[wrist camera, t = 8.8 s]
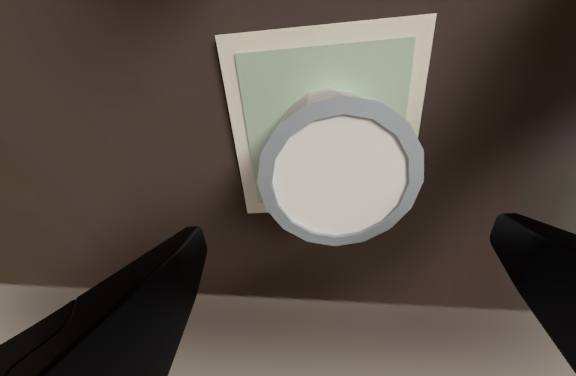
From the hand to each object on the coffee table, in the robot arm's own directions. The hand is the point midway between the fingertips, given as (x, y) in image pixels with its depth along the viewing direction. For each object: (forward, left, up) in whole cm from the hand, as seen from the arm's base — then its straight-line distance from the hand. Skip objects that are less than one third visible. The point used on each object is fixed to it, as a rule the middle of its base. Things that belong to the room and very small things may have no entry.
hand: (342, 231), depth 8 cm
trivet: (0, 0, -11) cm, 11 cm away
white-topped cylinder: (0, 0, -10) cm, 10 cm away
